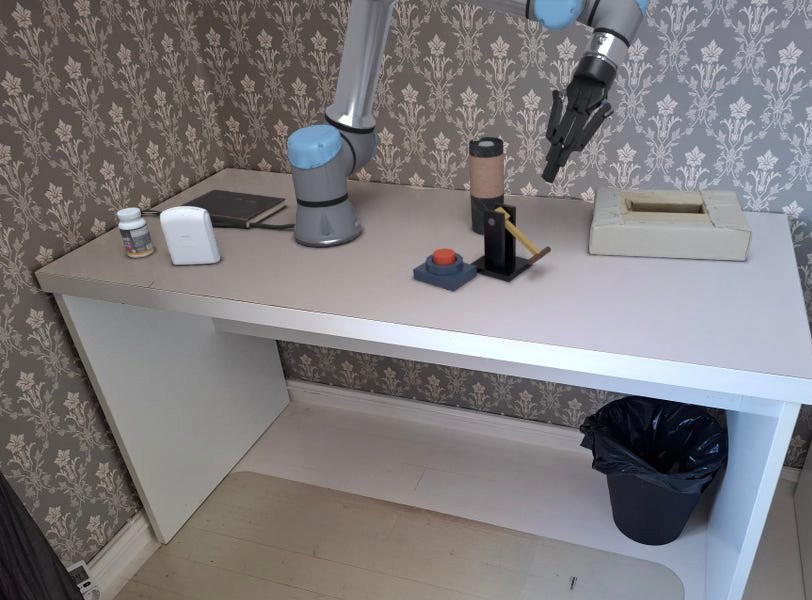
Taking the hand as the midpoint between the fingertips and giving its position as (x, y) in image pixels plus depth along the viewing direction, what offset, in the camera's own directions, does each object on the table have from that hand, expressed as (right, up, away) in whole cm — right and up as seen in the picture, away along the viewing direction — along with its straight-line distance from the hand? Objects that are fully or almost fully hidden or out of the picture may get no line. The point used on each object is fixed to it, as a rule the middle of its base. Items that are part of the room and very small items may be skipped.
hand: (546, 180), depth 130 cm
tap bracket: (-8, -16, +9) cm, 20 cm away
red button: (-20, -15, +4) cm, 25 cm away
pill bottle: (-89, -11, +22) cm, 92 cm away
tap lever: (-6, -11, +3) cm, 13 cm away
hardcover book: (-75, +3, +42) cm, 86 cm away
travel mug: (-10, -4, +27) cm, 29 cm away
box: (+28, -8, +19) cm, 35 cm away
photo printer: (-74, -13, +17) cm, 77 cm away
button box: (-20, -18, +6) cm, 27 cm away
